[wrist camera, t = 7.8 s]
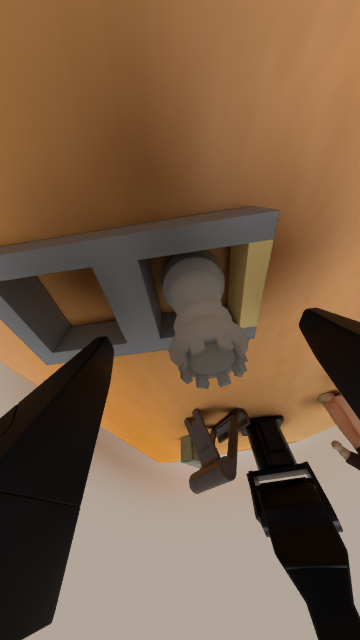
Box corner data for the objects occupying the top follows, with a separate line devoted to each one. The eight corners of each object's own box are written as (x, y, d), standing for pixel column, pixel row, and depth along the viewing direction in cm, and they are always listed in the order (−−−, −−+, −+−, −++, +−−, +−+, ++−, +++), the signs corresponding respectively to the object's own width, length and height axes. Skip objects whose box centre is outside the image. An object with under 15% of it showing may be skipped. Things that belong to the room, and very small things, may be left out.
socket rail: (240, 314, 15) (254, 338, 12) (65, 338, 15) (46, 365, 13) (252, 205, 10) (279, 210, 7) (-5, 247, 10) (-56, 264, 8)
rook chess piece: (226, 294, 13) (276, 386, 7) (174, 311, 14) (177, 408, 8) (213, 237, 11) (276, 302, 4) (150, 261, 11) (126, 347, 5)
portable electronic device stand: (217, 429, 31) (230, 493, 25) (178, 425, 29) (181, 494, 23) (245, 408, 26) (271, 481, 20) (201, 401, 24) (213, 480, 18)
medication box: (179, 436, 33) (179, 462, 30) (191, 433, 32) (193, 460, 29) (207, 450, 39) (210, 472, 36) (217, 447, 38) (221, 471, 35)
